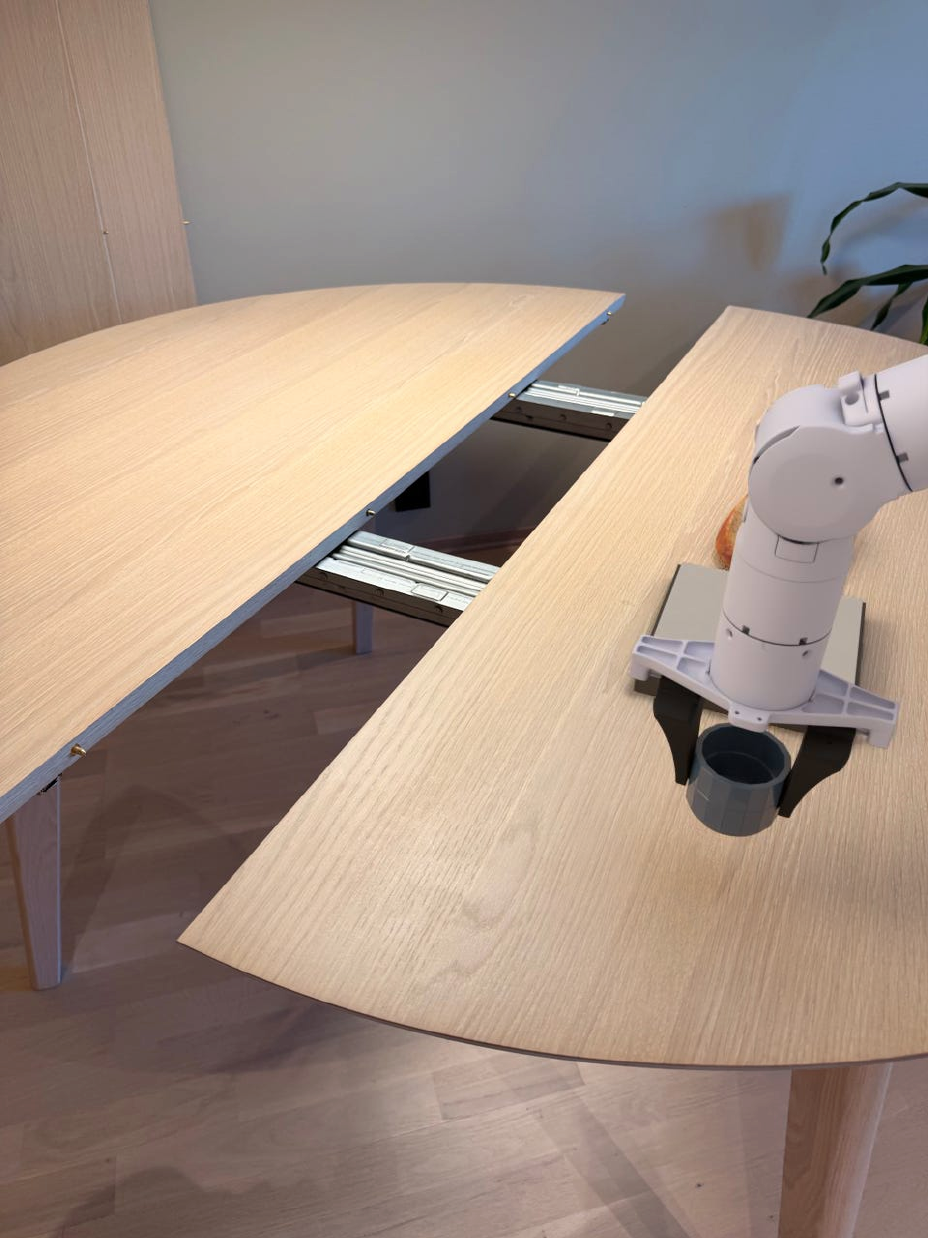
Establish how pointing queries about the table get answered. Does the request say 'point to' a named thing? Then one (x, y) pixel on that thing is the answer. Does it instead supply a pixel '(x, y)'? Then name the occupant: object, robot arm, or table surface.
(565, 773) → the table surface
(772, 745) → the cup
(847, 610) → the scale
